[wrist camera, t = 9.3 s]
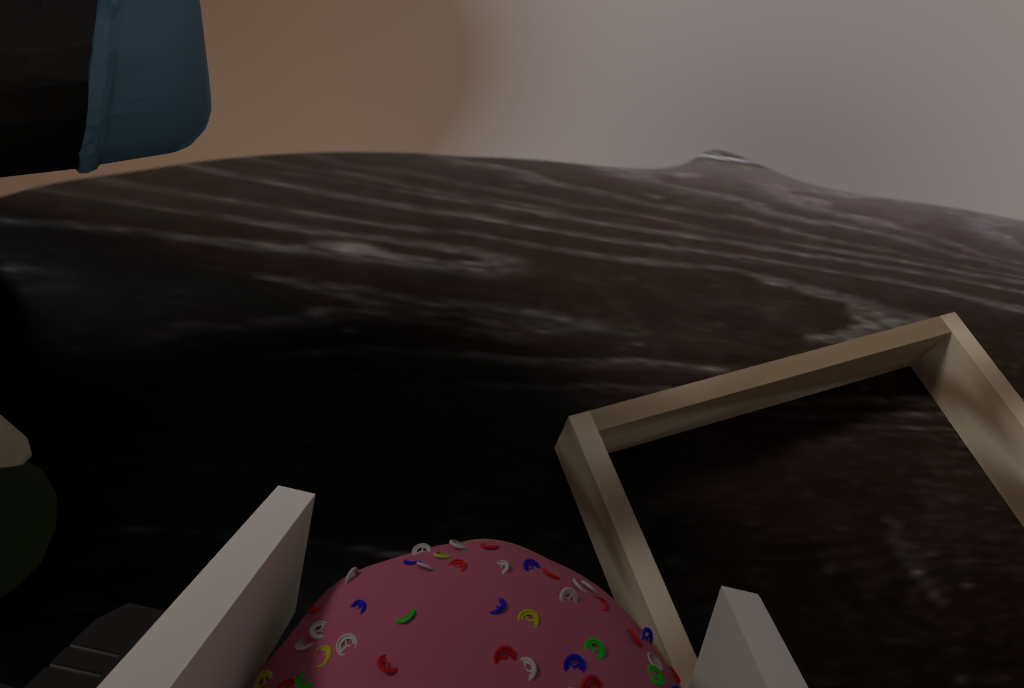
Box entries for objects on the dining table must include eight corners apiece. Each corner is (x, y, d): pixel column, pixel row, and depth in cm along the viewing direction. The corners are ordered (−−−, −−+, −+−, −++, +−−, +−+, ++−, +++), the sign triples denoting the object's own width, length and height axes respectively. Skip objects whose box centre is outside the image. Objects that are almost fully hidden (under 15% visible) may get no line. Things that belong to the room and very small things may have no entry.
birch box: (554, 448, 33) (568, 416, 30) (913, 346, 39) (954, 311, 36) (788, 1039, 23) (844, 1078, 20) (1223, 781, 29) (1315, 782, 26)
